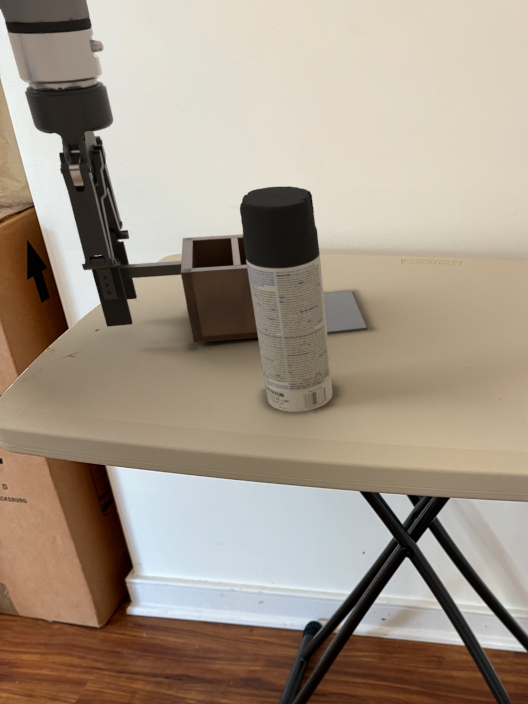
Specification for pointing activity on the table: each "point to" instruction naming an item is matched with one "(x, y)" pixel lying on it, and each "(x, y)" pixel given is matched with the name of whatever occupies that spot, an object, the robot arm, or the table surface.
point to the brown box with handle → (209, 286)
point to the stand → (342, 313)
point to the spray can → (287, 296)
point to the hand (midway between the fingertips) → (122, 310)
